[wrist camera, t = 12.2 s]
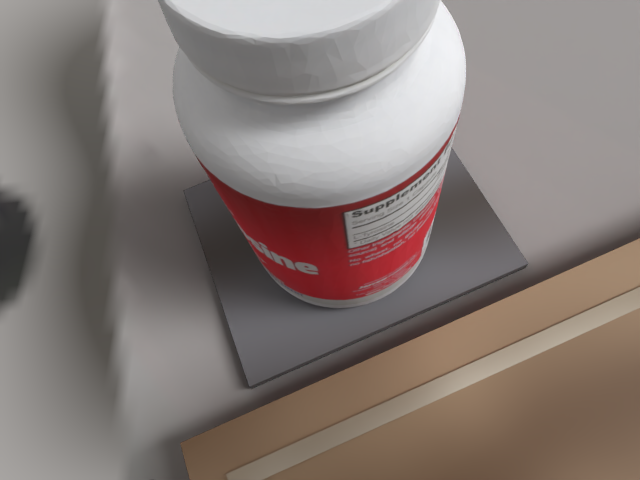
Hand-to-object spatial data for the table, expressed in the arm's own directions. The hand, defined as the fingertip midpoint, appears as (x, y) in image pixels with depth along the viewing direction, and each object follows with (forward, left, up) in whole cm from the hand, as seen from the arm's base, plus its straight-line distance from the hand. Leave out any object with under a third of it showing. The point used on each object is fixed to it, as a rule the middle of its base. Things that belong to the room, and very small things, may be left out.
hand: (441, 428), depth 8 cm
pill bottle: (+7, -1, -8) cm, 11 cm away
